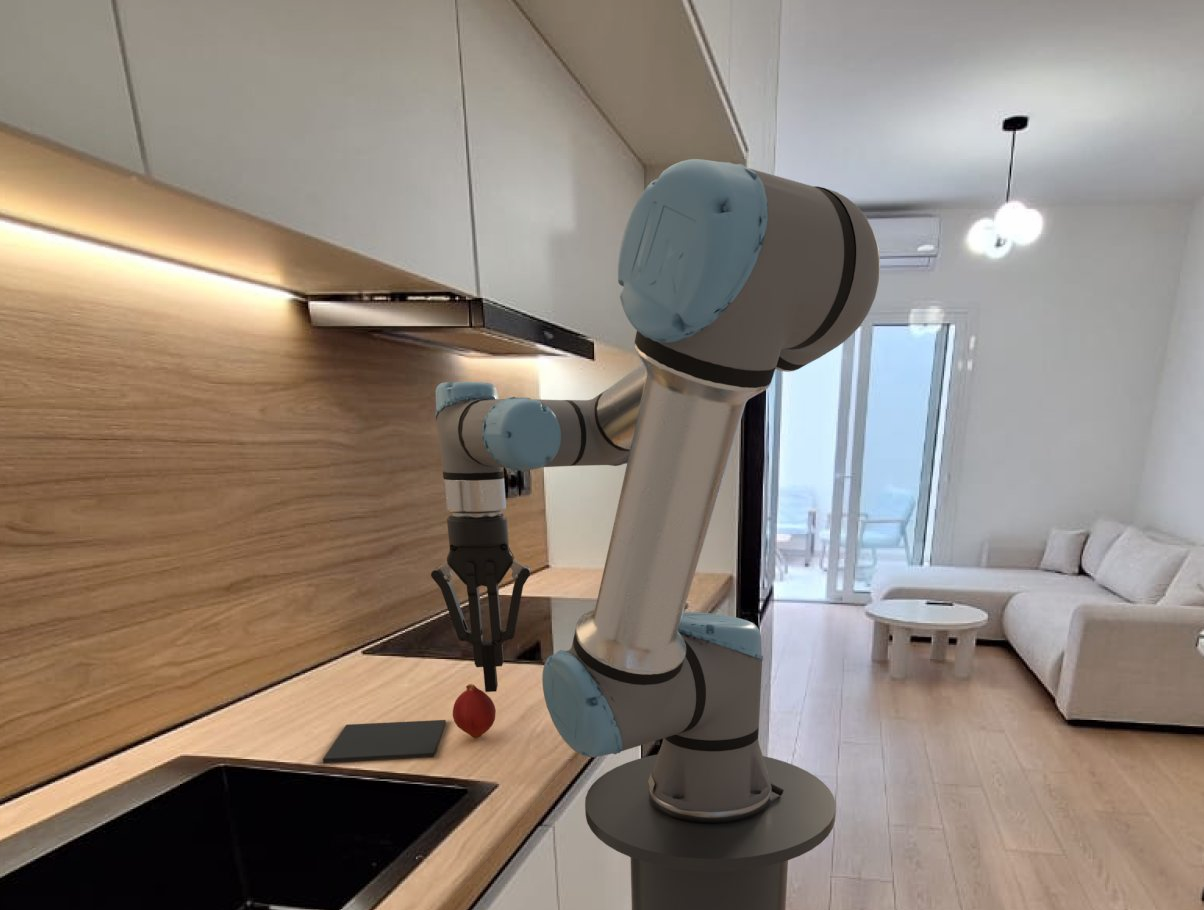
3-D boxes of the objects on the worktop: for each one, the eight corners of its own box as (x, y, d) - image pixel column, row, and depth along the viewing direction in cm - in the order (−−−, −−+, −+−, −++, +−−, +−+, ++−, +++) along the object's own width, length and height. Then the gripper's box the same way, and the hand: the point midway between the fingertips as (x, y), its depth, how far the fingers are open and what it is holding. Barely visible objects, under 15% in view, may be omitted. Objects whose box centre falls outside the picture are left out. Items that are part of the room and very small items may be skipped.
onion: (465, 729, 117) (460, 676, 114) (503, 731, 116) (499, 678, 113) (448, 743, 112) (442, 688, 109) (488, 746, 111) (483, 690, 108)
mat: (445, 723, 119) (445, 719, 119) (434, 756, 107) (433, 752, 107) (346, 728, 117) (346, 724, 117) (323, 762, 105) (322, 758, 105)
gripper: (529, 509, 108) (539, 679, 116) (428, 510, 106) (446, 682, 115) (527, 516, 101) (538, 695, 109) (419, 517, 99) (439, 699, 108)
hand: (491, 688), depth 112 cm, fingers closed
